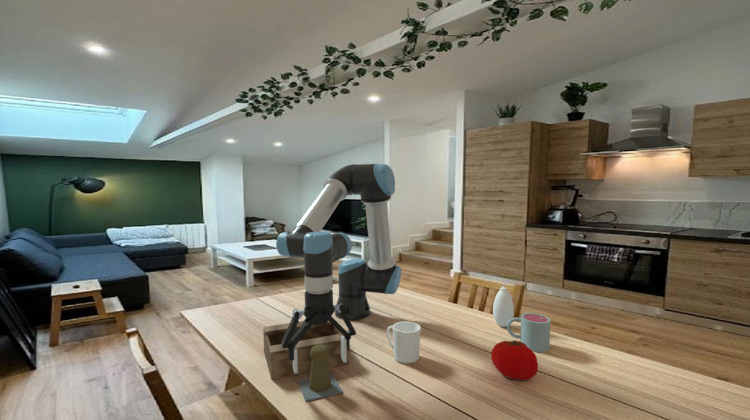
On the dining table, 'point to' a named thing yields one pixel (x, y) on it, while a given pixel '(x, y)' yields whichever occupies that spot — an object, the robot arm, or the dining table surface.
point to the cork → (319, 369)
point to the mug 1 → (405, 341)
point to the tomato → (514, 360)
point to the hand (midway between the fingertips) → (320, 365)
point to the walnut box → (300, 348)
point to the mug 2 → (533, 331)
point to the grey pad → (313, 395)
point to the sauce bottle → (503, 307)
